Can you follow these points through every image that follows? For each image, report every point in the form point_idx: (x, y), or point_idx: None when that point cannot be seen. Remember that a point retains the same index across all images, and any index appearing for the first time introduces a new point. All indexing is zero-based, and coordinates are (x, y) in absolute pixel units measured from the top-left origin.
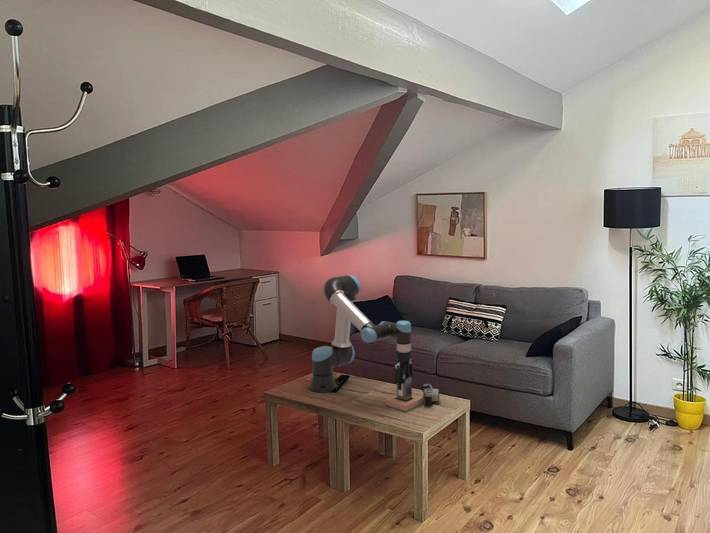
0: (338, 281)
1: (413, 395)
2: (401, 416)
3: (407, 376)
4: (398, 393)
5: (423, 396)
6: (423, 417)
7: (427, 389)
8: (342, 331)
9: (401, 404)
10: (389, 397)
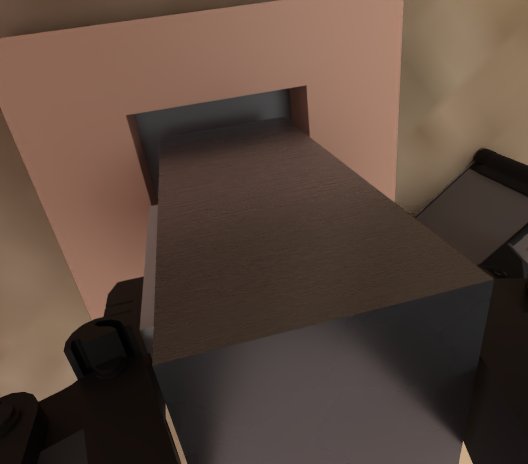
0: None
1: (378, 188)
2: (23, 354)
3: (417, 460)
4: (149, 220)
5: (486, 160)
6: (169, 425)
7: None
8: None
9: (88, 310)
10: (90, 33)
